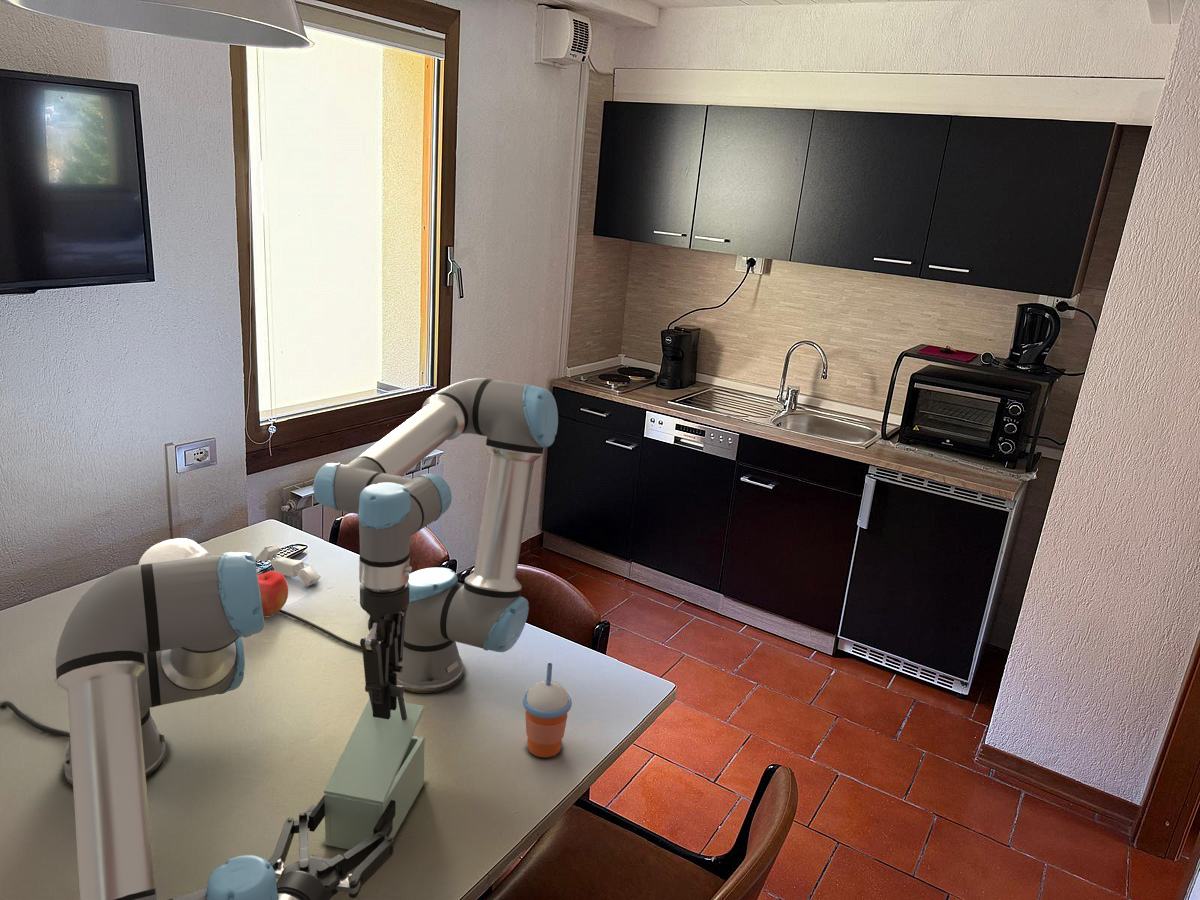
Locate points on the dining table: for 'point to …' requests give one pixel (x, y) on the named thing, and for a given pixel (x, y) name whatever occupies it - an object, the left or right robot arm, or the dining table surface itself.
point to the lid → (375, 751)
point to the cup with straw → (546, 716)
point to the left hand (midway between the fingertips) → (362, 801)
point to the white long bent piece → (288, 565)
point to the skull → (173, 551)
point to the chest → (358, 818)
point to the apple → (272, 592)
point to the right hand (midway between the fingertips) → (384, 712)
